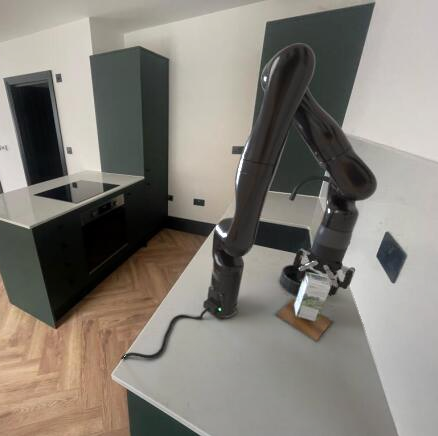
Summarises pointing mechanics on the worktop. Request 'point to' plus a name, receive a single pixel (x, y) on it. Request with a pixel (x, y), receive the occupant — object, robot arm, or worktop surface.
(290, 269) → the bowl
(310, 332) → the coaster
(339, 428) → the worktop surface
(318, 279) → the syrup box
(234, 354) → the worktop surface
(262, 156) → the robot arm
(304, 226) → the worktop surface
